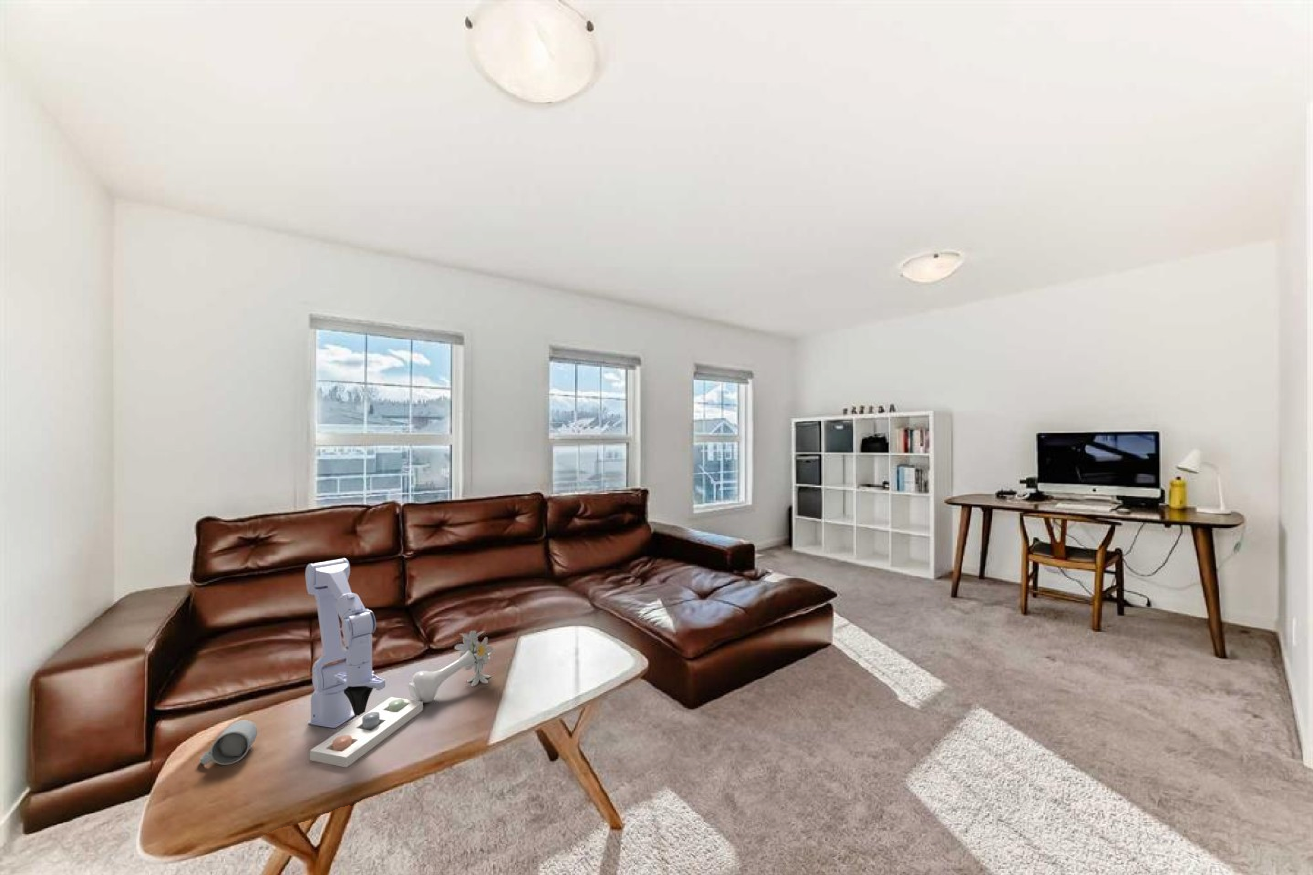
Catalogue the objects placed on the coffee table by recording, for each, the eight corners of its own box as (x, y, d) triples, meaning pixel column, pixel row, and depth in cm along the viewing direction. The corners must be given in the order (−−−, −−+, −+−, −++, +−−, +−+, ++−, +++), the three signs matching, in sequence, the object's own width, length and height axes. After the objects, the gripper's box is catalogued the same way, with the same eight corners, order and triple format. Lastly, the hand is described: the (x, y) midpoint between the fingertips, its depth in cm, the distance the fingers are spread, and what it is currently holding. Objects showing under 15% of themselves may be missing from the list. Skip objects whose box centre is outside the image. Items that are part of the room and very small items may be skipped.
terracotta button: (328, 756, 125) (328, 743, 125) (342, 746, 129) (342, 733, 129) (341, 758, 124) (341, 745, 124) (355, 748, 128) (355, 736, 128)
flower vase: (428, 730, 148) (502, 678, 165) (416, 680, 142) (494, 632, 160) (408, 707, 156) (481, 660, 174) (396, 659, 150) (473, 615, 168)
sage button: (385, 716, 142) (385, 705, 142) (396, 709, 146) (395, 698, 146) (397, 718, 141) (397, 707, 141) (407, 711, 145) (407, 700, 145)
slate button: (358, 730, 134) (358, 718, 134) (371, 722, 138) (370, 710, 138) (371, 733, 133) (371, 720, 133) (383, 724, 137) (382, 712, 137)
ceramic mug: (259, 741, 132) (258, 712, 132) (249, 760, 124) (248, 729, 124) (207, 753, 127) (206, 723, 127) (194, 773, 120) (192, 741, 120)
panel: (310, 759, 124) (310, 750, 124) (391, 705, 149) (391, 696, 149) (346, 767, 121) (346, 757, 121) (422, 709, 146) (422, 701, 146)
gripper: (394, 657, 132) (394, 709, 132) (350, 650, 136) (350, 701, 136) (372, 669, 125) (372, 723, 125) (326, 662, 129) (327, 715, 129)
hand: (359, 713), depth 130 cm, fingers closed
